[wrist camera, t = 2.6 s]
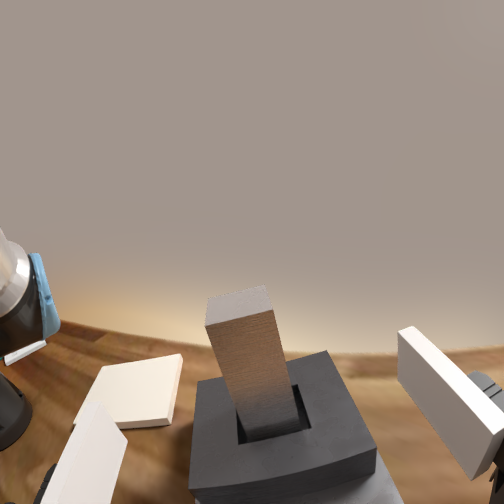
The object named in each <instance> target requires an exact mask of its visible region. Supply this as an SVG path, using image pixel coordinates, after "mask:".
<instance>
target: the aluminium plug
mask: <svg viewBox="0 0 504 504" xmlns="http://www.w3.org/2000/svg"><path fill="white" fill-rule="evenodd" d="M205 328H206V331H207V334H208V336H209V339H210V342H211V345H212V348H213V351H214V353H215V356H216V359H217V361H218V364H219V367H220V369H221V372H222V375H223V377H224V380H225V383H226V385H227V388H228V390H229V393H230V395H231V398H232V400H233V403H234V406H235V408H236V410H237V413H238V415H239V418H240V420H241V423H242V425H243V428H244V430H245V432H246V435H247V437H248V439H249V442H250V443H252V442H257V441H262V440H266V439H271V438H275V437H280V436H284V435H288V434H292V433H296V432H300V431H302V429H301V425H300V421H299V417H298V412H297V408H296V404H295V400H294V395H293V391H292V387H291V383H290V378H289V374H288V370H287V366H286V362H285V357H284V353H283V349H282V345H281V341H280V337H279V333H278V328H277V324H276V320H275V316H274V312H273V308H272V305H271V302H270V299H269V296H268V293H267V289H266V286H265V285H260V286H256V287H253V288H249V289H245V290H241V291H237V292H233V293H228V294H224V295H220V296H216V297H212V298H208V304H207V312H206V320H205Z"/></svg>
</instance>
